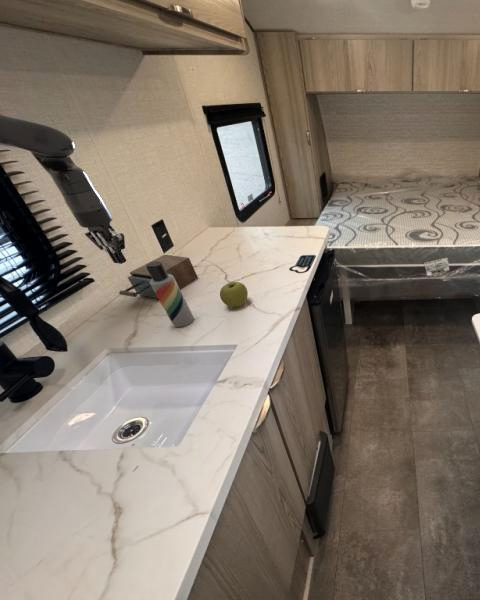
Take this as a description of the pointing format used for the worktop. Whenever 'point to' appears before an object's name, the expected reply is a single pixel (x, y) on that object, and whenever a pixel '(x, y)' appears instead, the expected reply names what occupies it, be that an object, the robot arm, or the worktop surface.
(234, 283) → the apple
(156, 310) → the worktop surface
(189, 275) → the cabinet
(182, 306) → the lotion bottle
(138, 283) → the drawer
